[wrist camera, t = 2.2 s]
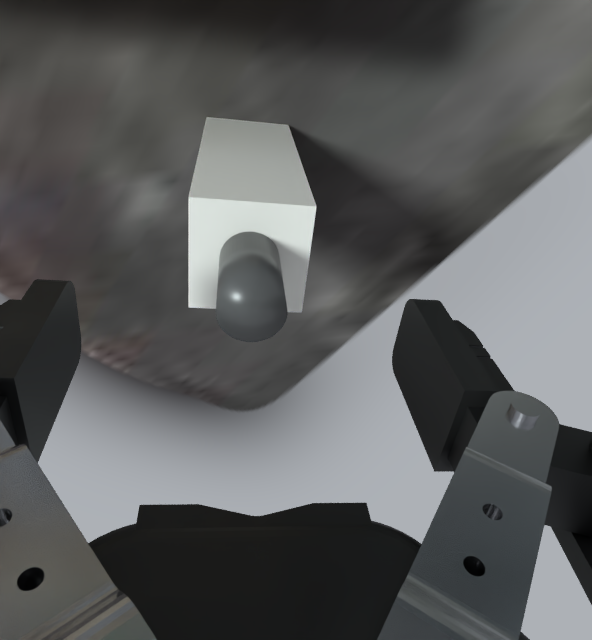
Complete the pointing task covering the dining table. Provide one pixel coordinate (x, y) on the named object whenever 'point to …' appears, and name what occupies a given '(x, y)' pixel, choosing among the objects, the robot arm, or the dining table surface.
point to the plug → (249, 227)
